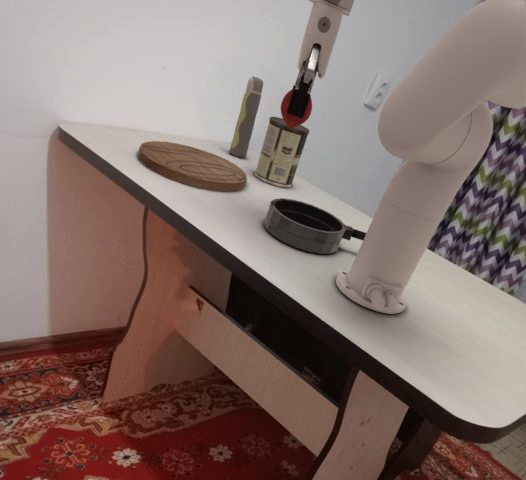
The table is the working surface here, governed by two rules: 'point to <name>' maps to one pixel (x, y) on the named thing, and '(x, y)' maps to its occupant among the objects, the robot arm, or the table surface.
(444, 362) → the table surface
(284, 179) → the coffee can
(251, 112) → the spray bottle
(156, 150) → the trivet
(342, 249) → the table surface
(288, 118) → the onion
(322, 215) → the pan
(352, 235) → the pan handle
